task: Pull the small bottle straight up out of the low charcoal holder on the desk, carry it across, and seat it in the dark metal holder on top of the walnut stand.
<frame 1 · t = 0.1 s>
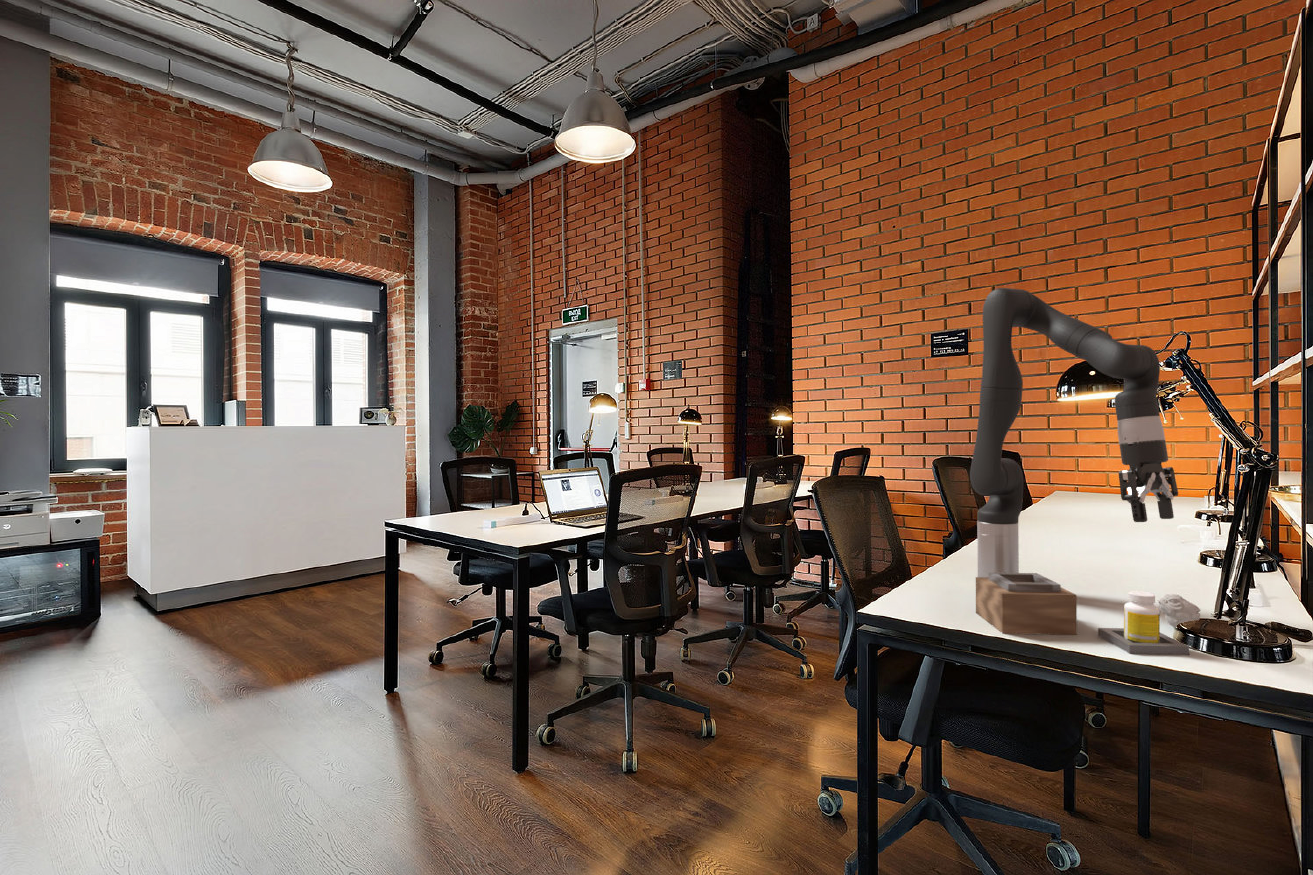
hand: (1153, 520, 128), 22 cm above the table, tool pointing down, fingers open, 8 cm apart
supplement bottle: (1141, 645, 120), resting in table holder
frog figurine: (1179, 630, 129), on the table
walnut stand: (1023, 623, 134), on the table
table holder: (1141, 644, 120), on the table
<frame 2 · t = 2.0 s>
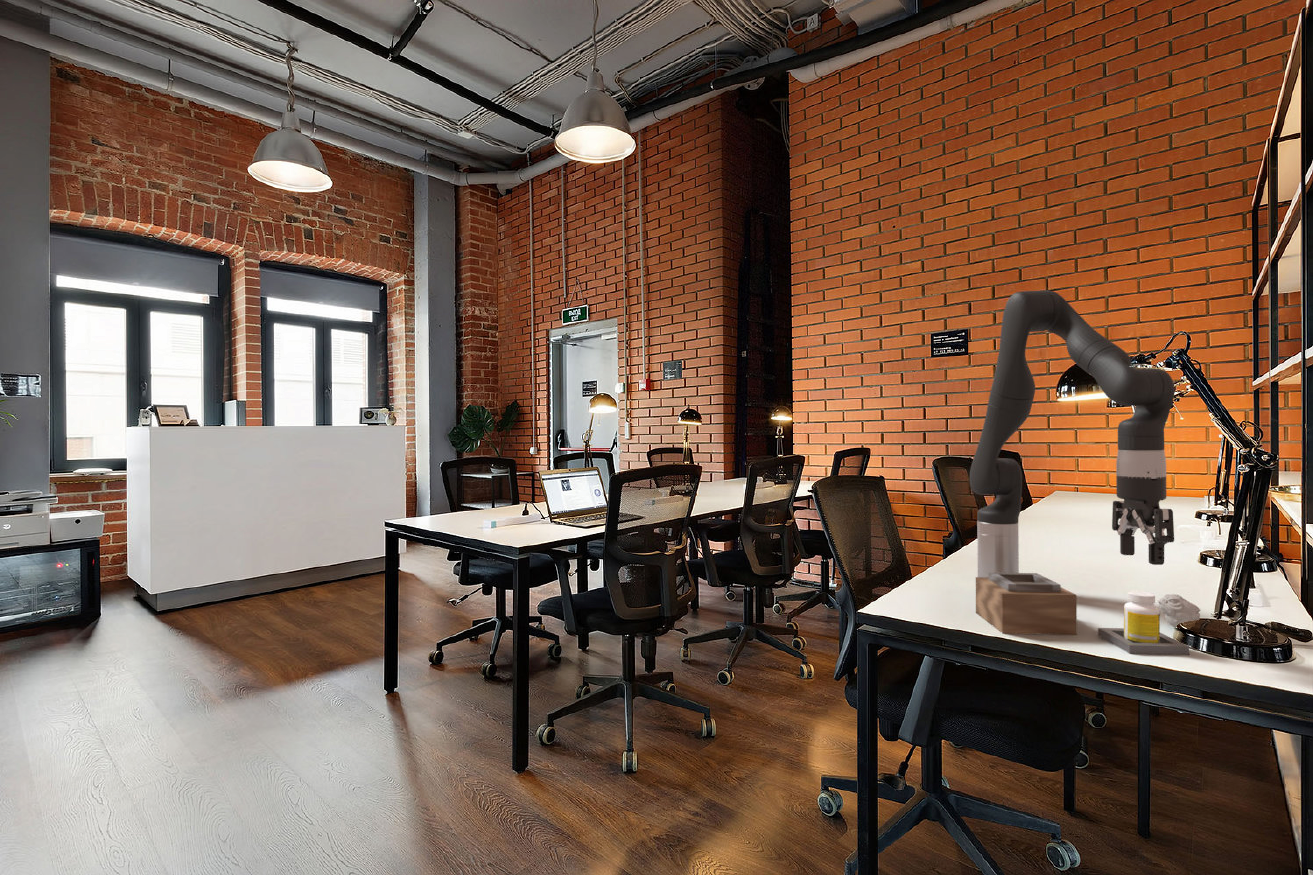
hand: (1141, 559, 120), 16 cm above the table, tool pointing down, fingers open, 8 cm apart
nothing on the table moved.
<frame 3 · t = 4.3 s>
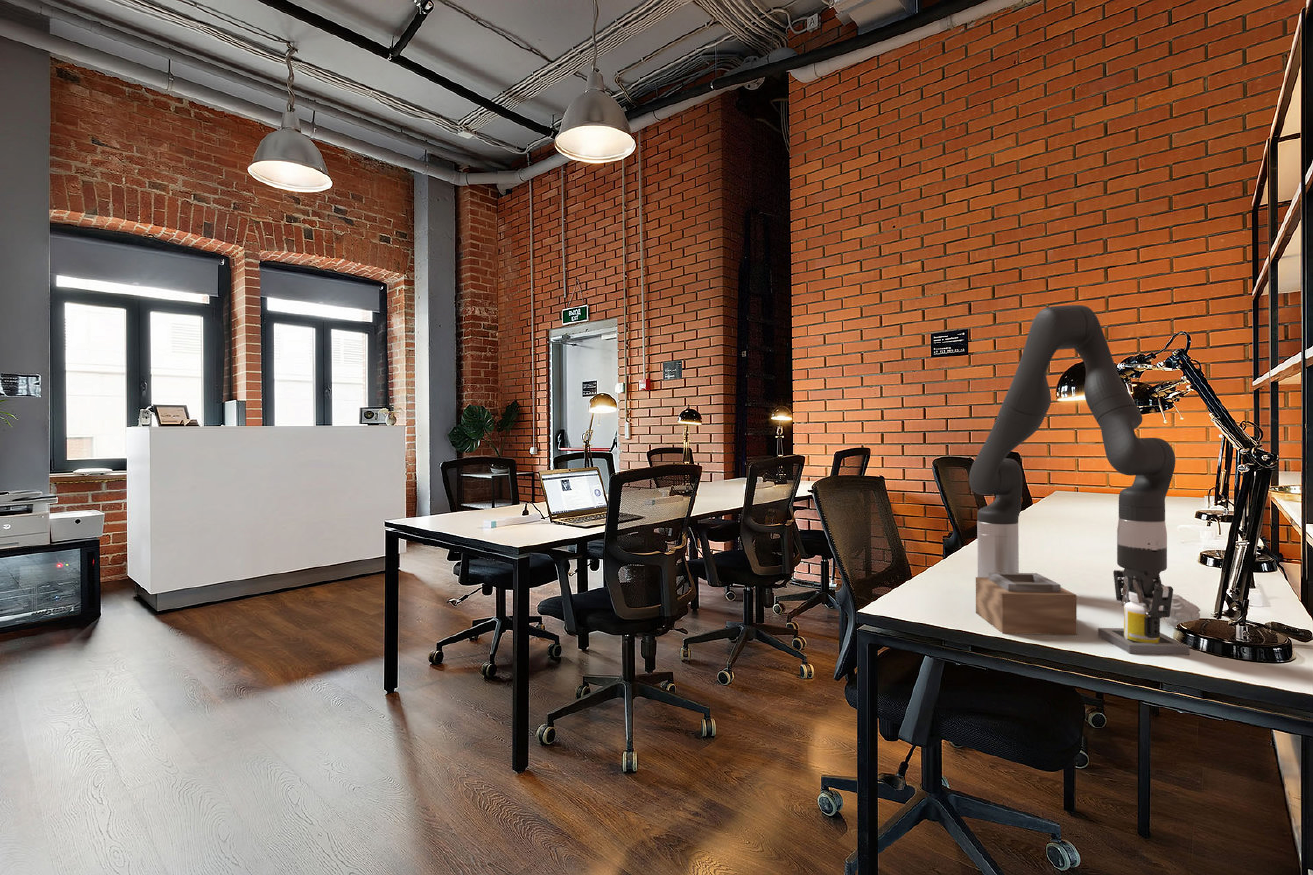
hand: (1141, 631, 120), 2 cm above the table, tool pointing down, fingers closed on supplement bottle, 5 cm apart
supplement bottle: (1141, 645, 120), resting in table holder, touching gripper
everything else where it was.
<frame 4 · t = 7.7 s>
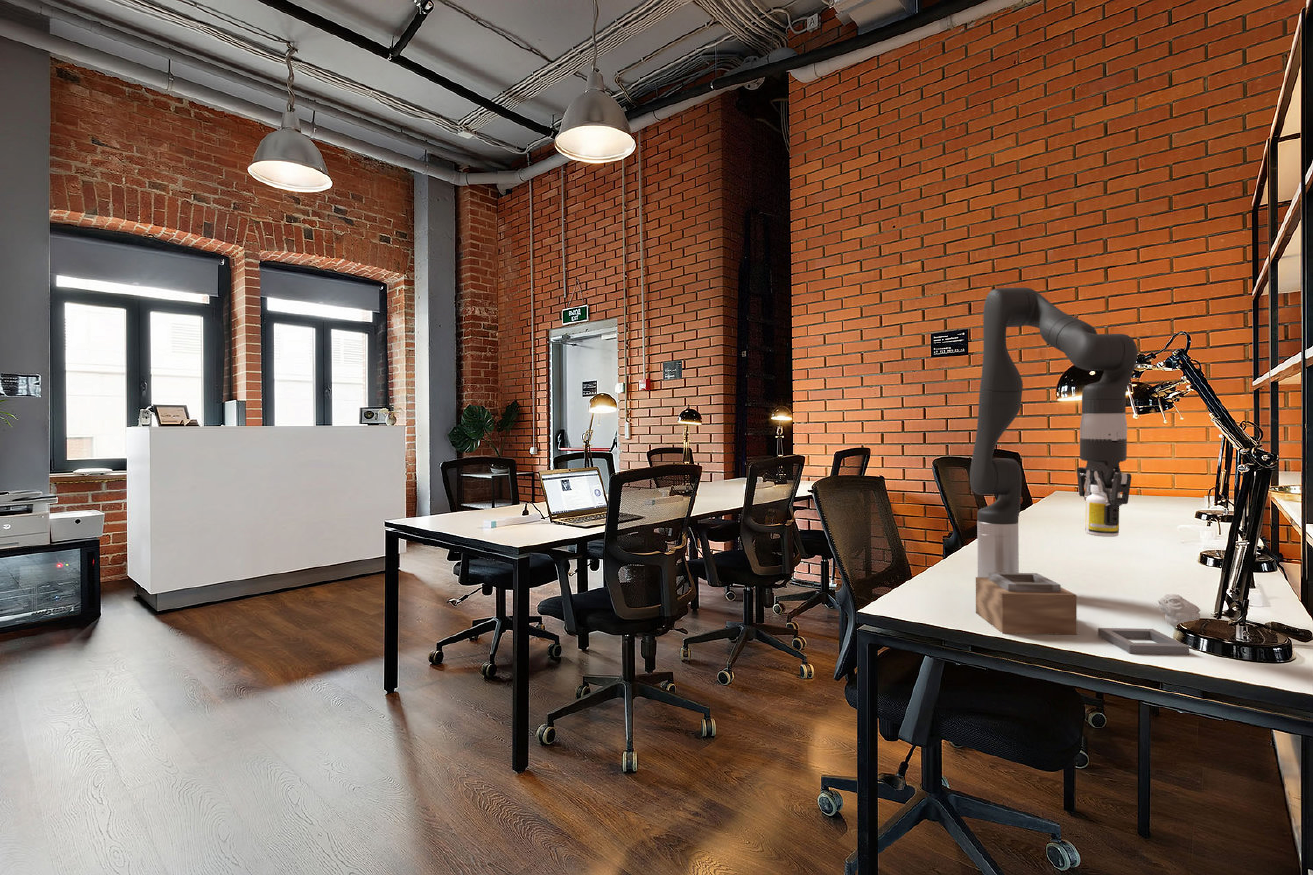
hand: (1102, 522, 125), 23 cm above the table, tool pointing down, fingers closed on supplement bottle, 5 cm apart
supplement bottle: (1101, 535, 125), point 20 cm above the table, touching gripper
everything else where it was.
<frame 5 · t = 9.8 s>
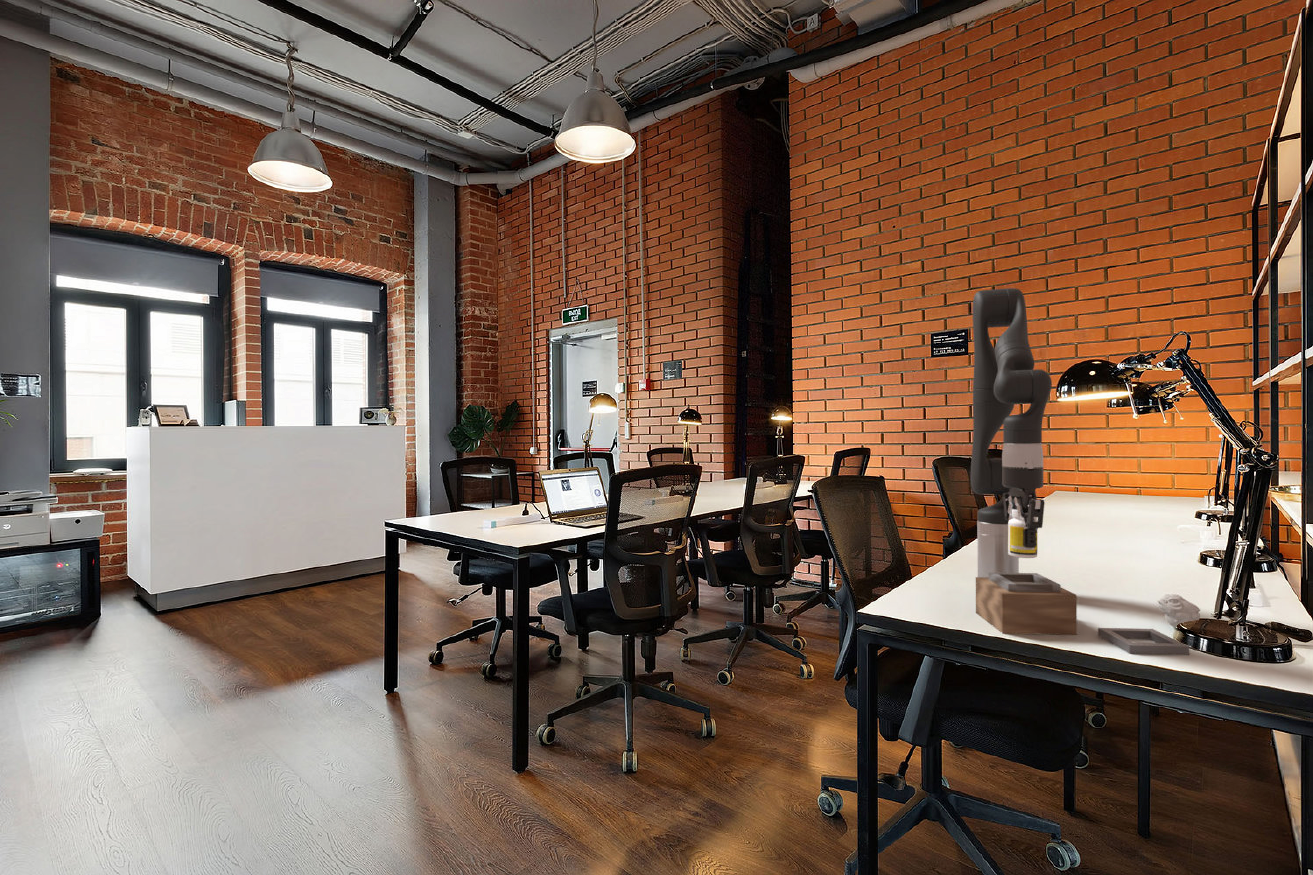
hand: (1022, 544, 134), 17 cm above the table, tool pointing down, fingers closed on supplement bottle, 5 cm apart
supplement bottle: (1022, 557, 134), point 14 cm above the table, touching gripper
everything else where it was.
when the fingers open (13 cm above the table, at t = 11.4 s): supplement bottle drops 2 cm, resting on walnut stand.
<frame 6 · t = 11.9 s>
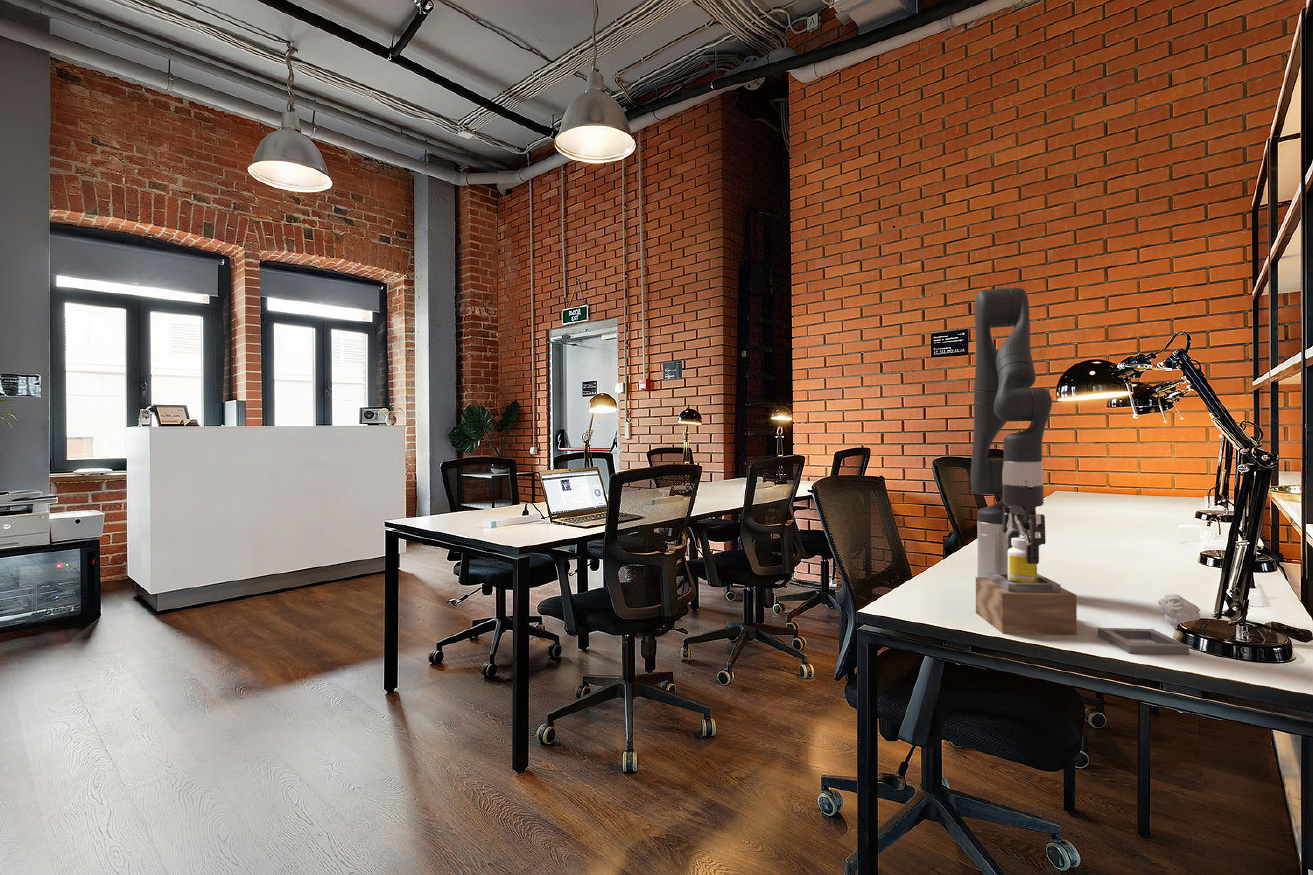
hand: (1023, 559, 134), 14 cm above the table, tool pointing down, fingers open, 8 cm apart
supplement bottle: (1022, 586, 134), point 8 cm above the table, touching walnut stand
everything else where it was.
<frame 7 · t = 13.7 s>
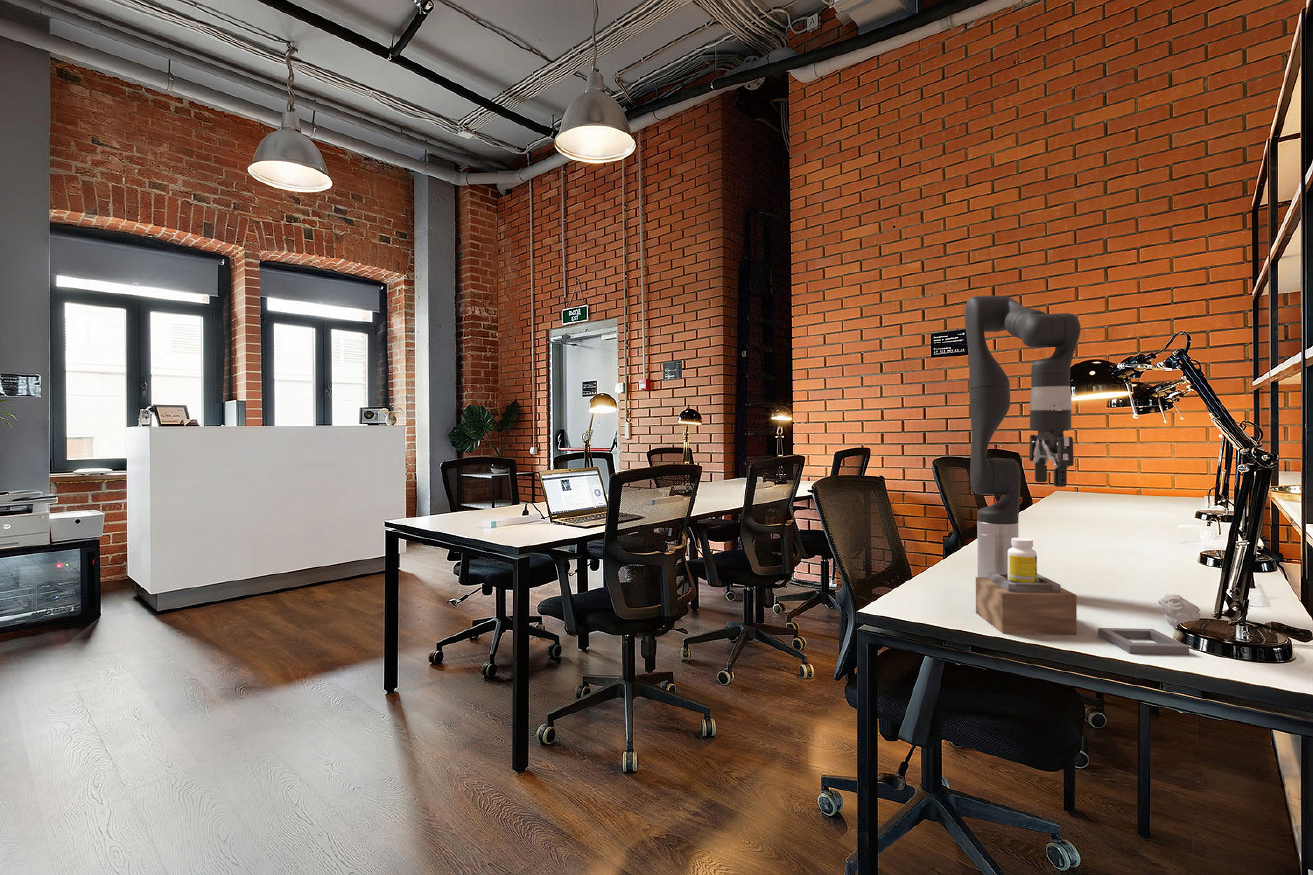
hand: (1050, 484, 135), 29 cm above the table, tool pointing down, fingers open, 8 cm apart
nothing on the table moved.
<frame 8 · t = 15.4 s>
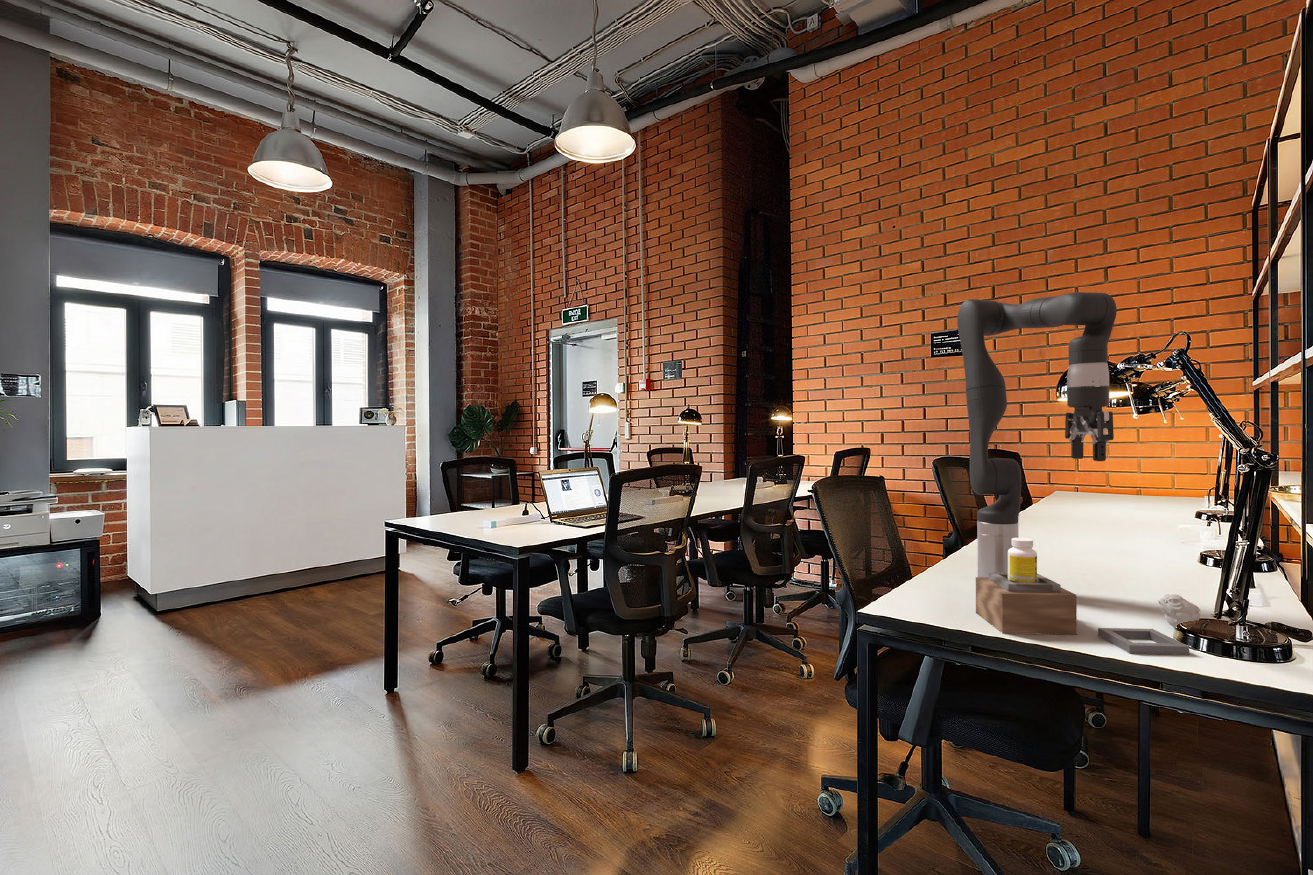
hand: (1088, 459, 138), 34 cm above the table, tool pointing down, fingers open, 8 cm apart
nothing on the table moved.
at the end: supplement bottle 0.3 cm off-centre on the walnut stand, point 7.8 cm above the walnut stand's base; supplement bottle tilted 0°; the gripper is holding nothing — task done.
